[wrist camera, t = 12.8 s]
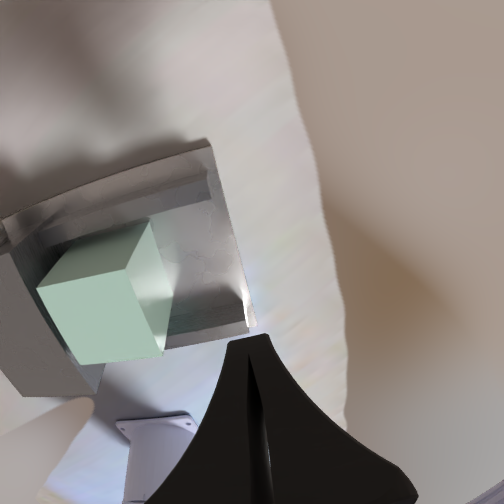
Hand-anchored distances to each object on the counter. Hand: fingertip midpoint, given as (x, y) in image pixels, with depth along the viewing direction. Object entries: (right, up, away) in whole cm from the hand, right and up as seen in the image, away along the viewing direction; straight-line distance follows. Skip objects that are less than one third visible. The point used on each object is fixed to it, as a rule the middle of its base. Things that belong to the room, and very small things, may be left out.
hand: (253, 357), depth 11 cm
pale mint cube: (-8, +3, +8) cm, 11 cm away
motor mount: (-10, +2, +8) cm, 13 cm away
